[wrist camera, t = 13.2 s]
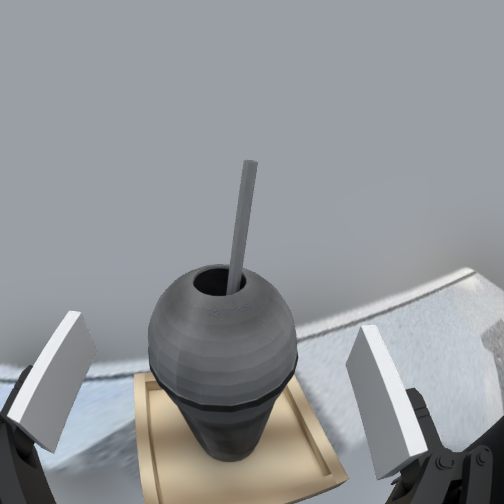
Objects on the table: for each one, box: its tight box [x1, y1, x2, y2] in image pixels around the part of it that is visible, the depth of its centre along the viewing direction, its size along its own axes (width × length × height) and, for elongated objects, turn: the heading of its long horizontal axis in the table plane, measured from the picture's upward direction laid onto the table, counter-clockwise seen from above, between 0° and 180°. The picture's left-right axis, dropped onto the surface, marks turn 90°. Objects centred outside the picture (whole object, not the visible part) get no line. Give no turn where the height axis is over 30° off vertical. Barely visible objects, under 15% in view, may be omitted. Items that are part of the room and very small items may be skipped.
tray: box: [134, 372, 349, 504], centre depth 18 cm, size 14×14×2 cm
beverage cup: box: [148, 160, 298, 462], centre depth 13 cm, size 7×7×20 cm
